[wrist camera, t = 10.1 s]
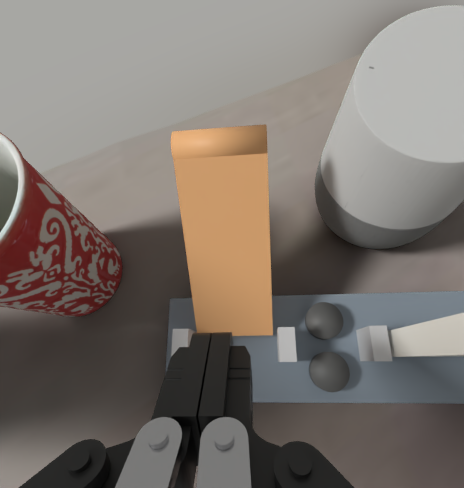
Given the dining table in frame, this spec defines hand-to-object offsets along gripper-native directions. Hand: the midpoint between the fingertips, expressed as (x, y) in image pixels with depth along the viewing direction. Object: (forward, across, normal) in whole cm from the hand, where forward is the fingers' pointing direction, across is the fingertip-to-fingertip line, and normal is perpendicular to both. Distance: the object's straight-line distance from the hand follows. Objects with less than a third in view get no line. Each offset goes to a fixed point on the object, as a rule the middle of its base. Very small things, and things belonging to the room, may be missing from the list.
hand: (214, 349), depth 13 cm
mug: (+13, +15, +5) cm, 21 cm away
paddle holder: (+9, -6, +8) cm, 14 cm away
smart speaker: (+17, -11, +1) cm, 20 cm away
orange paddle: (+8, 0, +6) cm, 10 cm away
